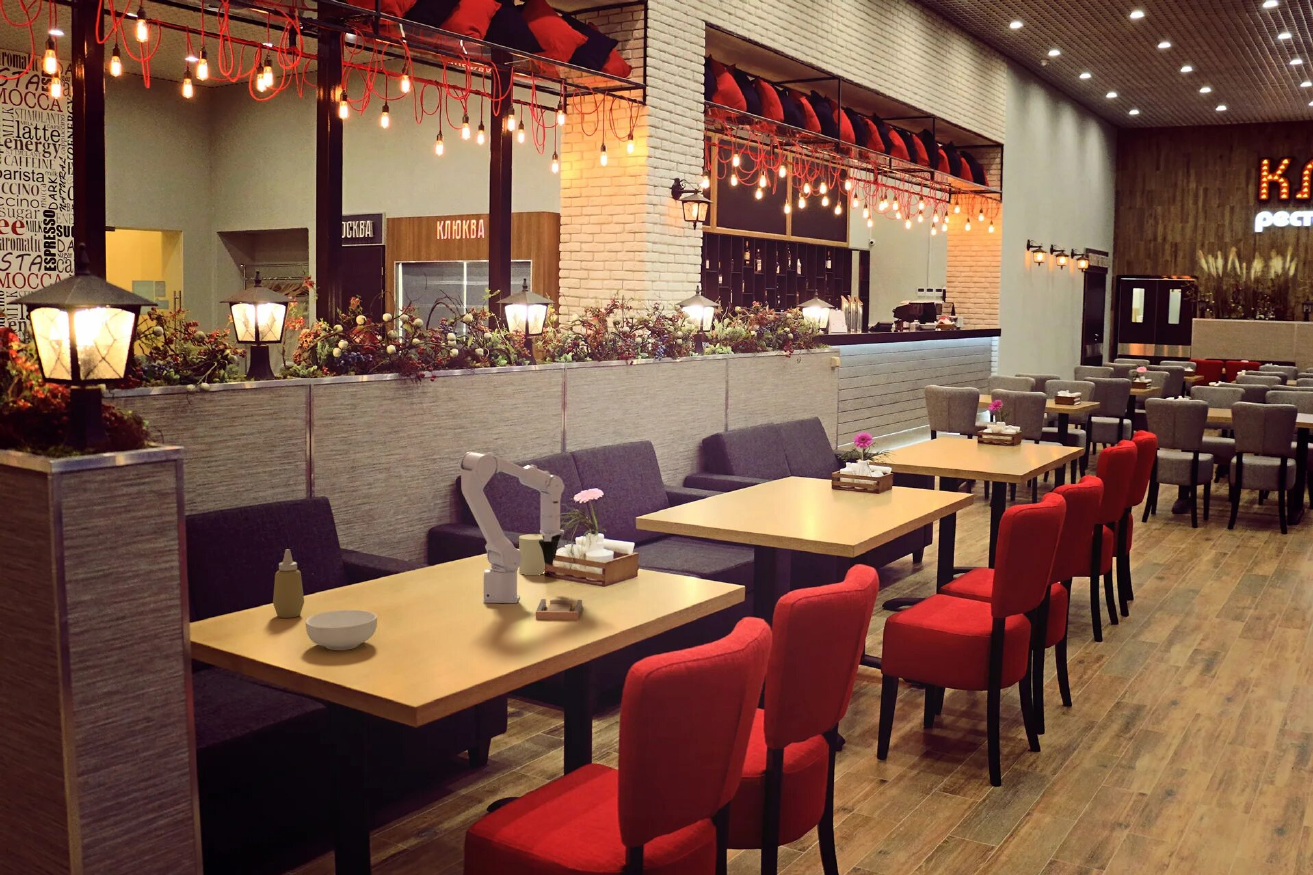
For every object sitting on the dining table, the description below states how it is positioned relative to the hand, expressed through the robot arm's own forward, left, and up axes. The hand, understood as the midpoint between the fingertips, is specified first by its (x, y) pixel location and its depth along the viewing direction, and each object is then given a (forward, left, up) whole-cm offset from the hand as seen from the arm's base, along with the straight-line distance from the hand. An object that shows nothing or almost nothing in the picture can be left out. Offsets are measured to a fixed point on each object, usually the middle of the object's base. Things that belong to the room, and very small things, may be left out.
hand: (550, 561), depth 341 cm
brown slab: (+5, -23, -9) cm, 25 cm away
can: (-8, +26, -10) cm, 29 cm away
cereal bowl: (-45, -58, -10) cm, 74 cm away
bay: (+5, -23, -9) cm, 25 cm away
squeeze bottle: (-67, -31, -10) cm, 74 cm away
